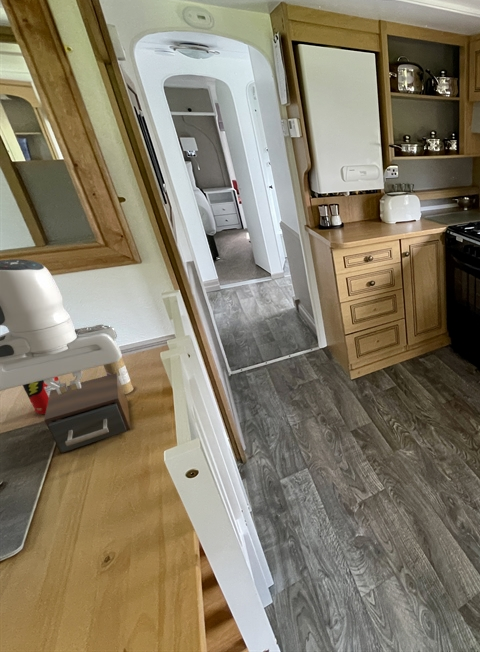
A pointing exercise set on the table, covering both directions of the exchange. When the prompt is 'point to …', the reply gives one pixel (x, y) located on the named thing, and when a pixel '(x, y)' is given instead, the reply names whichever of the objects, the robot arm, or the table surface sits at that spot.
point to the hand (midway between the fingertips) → (70, 390)
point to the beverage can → (39, 394)
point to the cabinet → (87, 400)
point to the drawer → (87, 427)
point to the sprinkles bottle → (120, 374)
